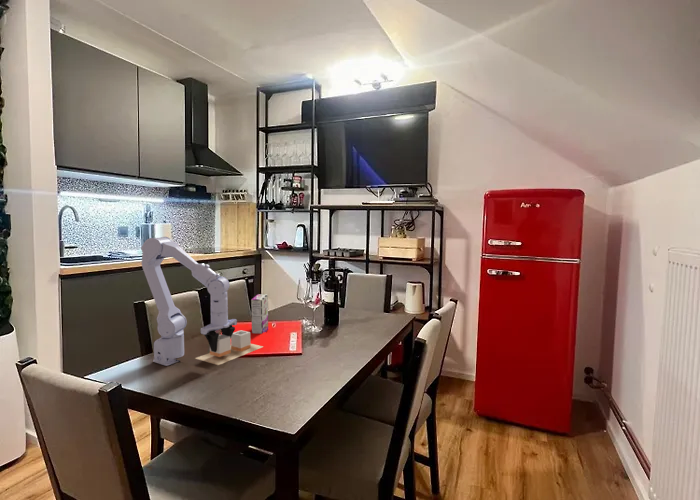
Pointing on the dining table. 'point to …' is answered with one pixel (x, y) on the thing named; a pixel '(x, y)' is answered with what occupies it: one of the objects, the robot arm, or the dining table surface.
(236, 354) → the pin board
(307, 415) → the dining table surface
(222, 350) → the loose sleeve
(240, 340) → the seated sleeve
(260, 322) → the candy bar box
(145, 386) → the dining table surface
